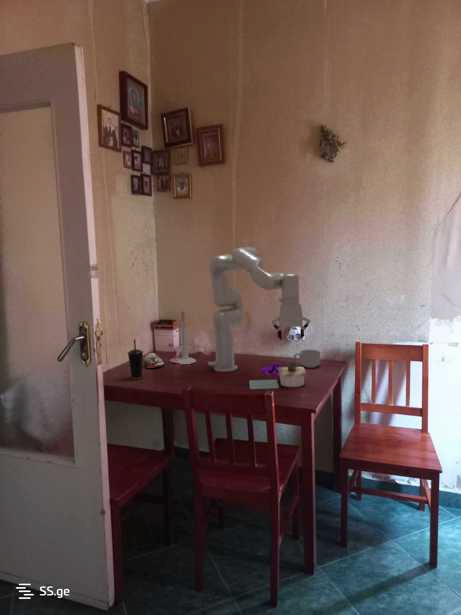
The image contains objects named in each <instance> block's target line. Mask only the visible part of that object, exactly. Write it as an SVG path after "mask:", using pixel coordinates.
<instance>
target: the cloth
mask: <svg viewBox="0 0 461 615" xmlns="http://www.w3.org/2000/svg"><path fill="white" fill-rule="evenodd" d="M278 367H281V366H280V363H278V362H275V363H273V364H272V365H271V366H266V367H263V368H260V369H259V371H260V372H264V373H263V374H264V375H267V376H270V375H271V374H272V375H275V376H279V377H280V375H279V372H278ZM270 373H271V374H270Z"/></svg>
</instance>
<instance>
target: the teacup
mask: <svg viewBox="0 0 461 615" xmlns="http://www.w3.org/2000/svg"><path fill="white" fill-rule="evenodd" d="M321 354H322V352H321V351H320V350H316V349H311V348H310V349H309V348H308V349H302V350H300V351H299V352H295V353H294V355H293V359H294V361H295V362H297V363H298V364H301V365H302V367H305V369H306V368H307V369H313V368H317V367H318V366H319V365H320V364H321ZM297 356H299V359H297Z"/></svg>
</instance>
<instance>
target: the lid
mask: <svg viewBox="0 0 461 615" xmlns="http://www.w3.org/2000/svg"><path fill="white" fill-rule="evenodd" d="M278 372H279V373H278V374H279V375H280V376H279V377H290V376H304V377H308V372H307V371H306V368H304V366H297V361H296V360H289V361H287V366H284V367H283V366H280V367H278Z"/></svg>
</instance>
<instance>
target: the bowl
mask: <svg viewBox="0 0 461 615" xmlns="http://www.w3.org/2000/svg"><path fill="white" fill-rule="evenodd" d="M279 377H280V376H279ZM304 384H305V376H290V377H280V386H283V387H289V388H297V387H301V386H304Z"/></svg>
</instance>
